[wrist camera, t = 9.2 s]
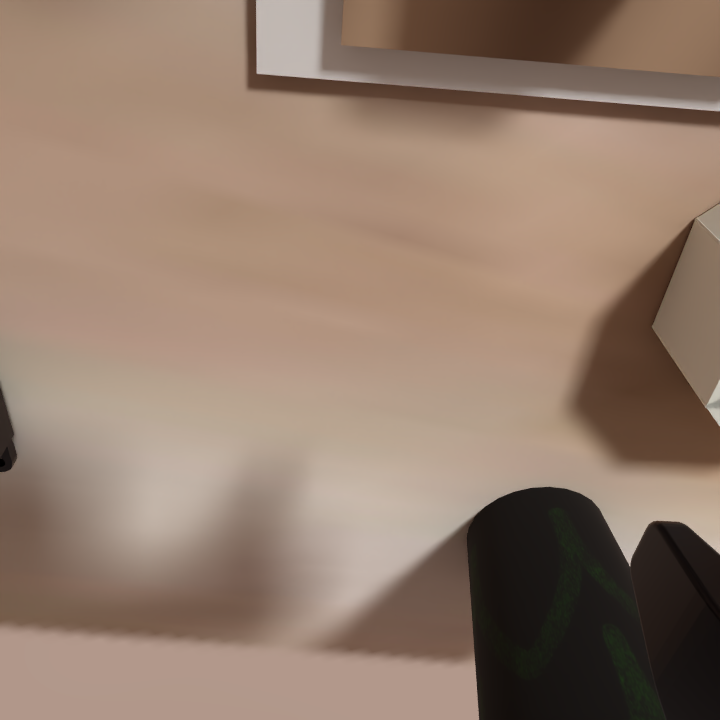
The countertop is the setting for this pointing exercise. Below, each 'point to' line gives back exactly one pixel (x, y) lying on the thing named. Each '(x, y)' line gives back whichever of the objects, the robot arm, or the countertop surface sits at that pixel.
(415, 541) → the countertop surface
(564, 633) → the cup
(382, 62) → the mat
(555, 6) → the lid
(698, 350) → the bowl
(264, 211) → the countertop surface
